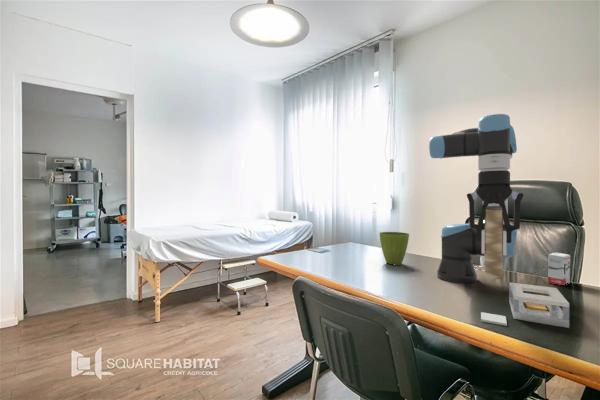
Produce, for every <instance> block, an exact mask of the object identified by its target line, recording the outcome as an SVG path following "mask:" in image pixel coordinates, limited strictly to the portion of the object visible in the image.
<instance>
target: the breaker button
mask: <svg viewBox="0 0 600 400" xmlns="http://www.w3.org/2000/svg"><path fill="white" fill-rule="evenodd" d="M525 308H528V309H535V310H541V311H547V308H546V306H545V305H544V304H537V303H530V302H525Z"/></svg>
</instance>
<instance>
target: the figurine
mask: <svg viewBox="0 0 600 400" xmlns="http://www.w3.org/2000/svg"><path fill="white" fill-rule="evenodd" d="M479 257H480V258H479V260H480V261H479V262H480V264H479V266H480V267H484V256H479Z"/></svg>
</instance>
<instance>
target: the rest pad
mask: <svg viewBox="0 0 600 400" xmlns="http://www.w3.org/2000/svg"><path fill="white" fill-rule="evenodd" d="M480 322H483V323H489V324H493V325H500V326H505V327H508V322H507V317H506V316H505V315H501V314H495V313H488V312H483V311H480Z"/></svg>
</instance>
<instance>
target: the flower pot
mask: <svg viewBox="0 0 600 400" xmlns="http://www.w3.org/2000/svg"><path fill="white" fill-rule="evenodd" d="M378 234H379V241H380V245H381V246H380V247H381V250H382V254H383V257H384V260H385V263H386V264H387V263H389V264H395V265H394V266H400V265H399V264H401V265H402V264H403V261H404V258H405V256H406V252H407V248H408V245H409V244H408V243H409V239H410V238H409V237H410V233H407V232H401V231H380V232H379V233H378ZM389 264H388V265H389Z"/></svg>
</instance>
